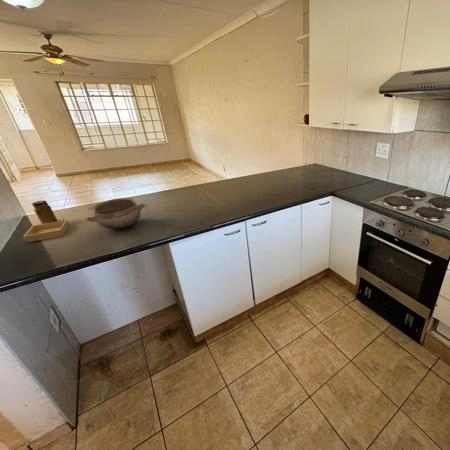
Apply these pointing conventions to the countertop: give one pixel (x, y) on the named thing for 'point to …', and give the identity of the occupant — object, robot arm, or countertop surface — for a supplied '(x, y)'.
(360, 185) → the countertop surface
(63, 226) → the tray
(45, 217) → the condiment
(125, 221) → the cooking pot
